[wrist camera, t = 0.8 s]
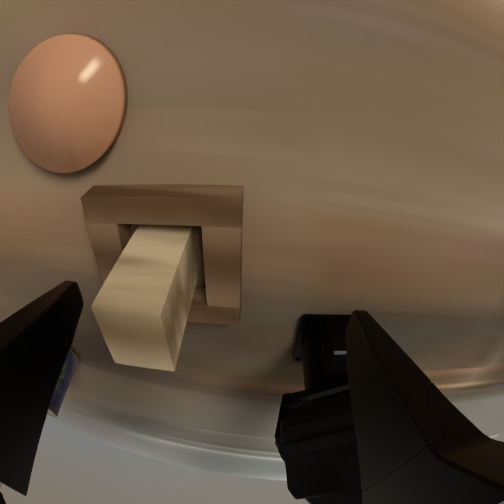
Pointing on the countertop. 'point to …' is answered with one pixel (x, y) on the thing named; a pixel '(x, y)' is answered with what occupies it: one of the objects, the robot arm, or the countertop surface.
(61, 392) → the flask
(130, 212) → the pocket board
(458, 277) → the countertop surface
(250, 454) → the countertop surface
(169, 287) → the maple block
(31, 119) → the terracotta plate
